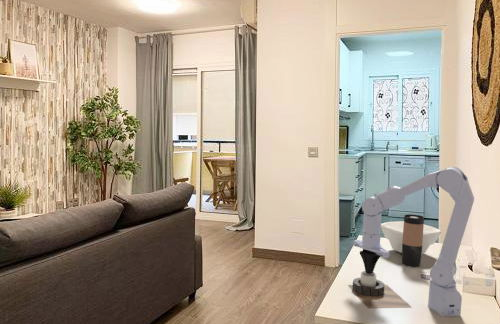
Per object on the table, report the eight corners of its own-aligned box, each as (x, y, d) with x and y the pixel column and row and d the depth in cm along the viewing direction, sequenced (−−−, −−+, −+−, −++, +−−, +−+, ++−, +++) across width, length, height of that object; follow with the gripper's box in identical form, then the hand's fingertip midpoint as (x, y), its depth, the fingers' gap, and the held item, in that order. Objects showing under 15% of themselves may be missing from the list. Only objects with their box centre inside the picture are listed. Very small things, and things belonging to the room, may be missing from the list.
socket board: (411, 310, 128) (412, 299, 128) (367, 311, 127) (368, 300, 126) (385, 286, 146) (386, 277, 146) (347, 287, 145) (347, 277, 145)
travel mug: (422, 263, 173) (425, 216, 171) (419, 268, 166) (422, 219, 164) (402, 260, 177) (406, 213, 175) (399, 265, 170) (402, 216, 168)
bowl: (372, 247, 194) (373, 222, 193) (409, 243, 203) (410, 220, 202) (407, 262, 174) (408, 235, 173) (446, 257, 182) (448, 231, 181)
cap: (376, 293, 138) (377, 276, 137) (360, 292, 139) (361, 274, 138) (374, 288, 142) (375, 271, 142) (359, 286, 143) (360, 269, 143)
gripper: (397, 237, 134) (394, 278, 135) (365, 226, 147) (363, 264, 148) (380, 239, 131) (378, 281, 132) (349, 228, 144) (347, 266, 145)
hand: (369, 272), depth 140 cm, fingers closed
